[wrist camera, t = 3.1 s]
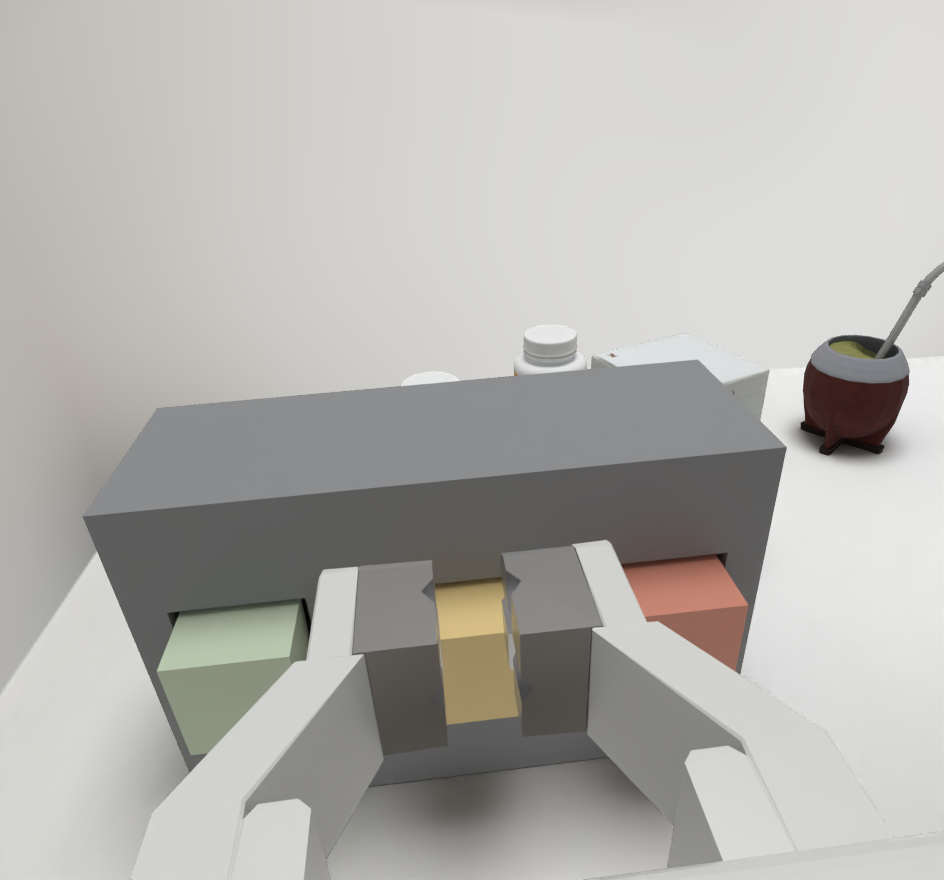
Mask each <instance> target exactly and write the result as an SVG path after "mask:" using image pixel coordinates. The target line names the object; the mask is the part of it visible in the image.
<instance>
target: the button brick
mask: <svg viewBox="0 0 944 880" xmlns="http://www.w3.org/2000/svg"><path fill="white" fill-rule="evenodd" d="M621 566H622V568H623V570H624V572H625V575H626V577H627V579H628V581H629V583H630V586H631V588H632V590H633V592H634V594H635V597H636V599H637V601H638V603H639V605H640V608H641V610H642V612H643V614H644V616H645V619H646V621H647V622H655V621H659V622H660V623H662V624H663V625H665V626H666V627H668V628H669V629H671V630H672V631H674V632H675V633H677V634H678V635H680V636H682V637H683V638H685V639H686V640H688V641H689V642H691V643H692V644H694V645H695V646H697V647H698V648H700V649H701V650H703V651H704V652H706V653H708V654H709V655H711V656H712V657H714V658H715V659H717V660H718V661H720V662H721V663H723V664H724V665H726V666H727V667H729V668H730V669H732V670H734V671H736V666H737V661H738V656H739V651H740V646H741V641H742V636H743V631H744V626H745V621H746V616H747V611H748V606H749V605H748V603H747V602H746V600H745V599H744V597H743V596H742V594H741V593H740V591H739V589H738V588H737V586H736V585H735V583H734V582H733V580H732V579H731V577H730V576H729V574H728V572H727V571H726V569H725V568H724V566H723V565H722V563H721V562H720V560H719V559H718V557H717V555H716V554H710V555H701V556H692V557H682V558H673V559H664V560H654V561H645V562H636V563H626V564H621Z"/></svg>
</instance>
